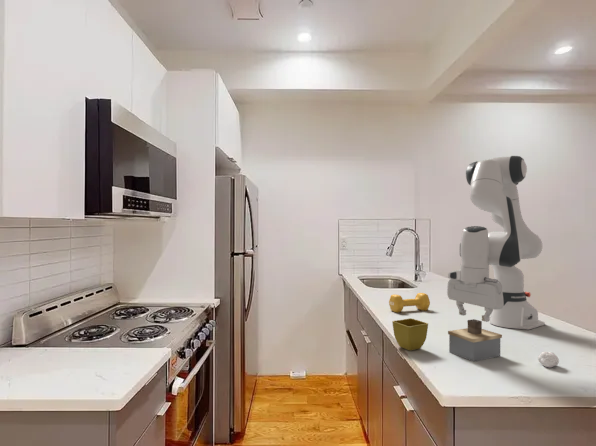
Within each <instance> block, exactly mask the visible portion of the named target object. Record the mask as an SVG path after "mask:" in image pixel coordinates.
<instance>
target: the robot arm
mask: <svg viewBox="0 0 596 446" xmlns="http://www.w3.org/2000/svg"><path fill="white" fill-rule="evenodd" d="M527 172H528V168H527V164H526V162H525V159H524V158H523V157H522V156H521V155H520V156H519V155H511V156H501V157H493V158H489V159H484V160H480V161H477V160H476V161H474V162H470V163H469V165H467V167H466V169H465V179H466V182H467V185H469V199H470V201H471V203H472V205H474V206H475V207H476V208H478V209H480V210H482V211H483V212H487V213H490V217H491V220H492V221H493V222H494V223H496V224H497V225H499V226H500V227H501V228H502V230H503V231H490V232H489V230H488V228H487V227H484V226H479V225H474V226H472V225H471V226H466V227H465V228H463V229H462V233H461V239H460V243H459V256H460V258H461V261H460V265H459V269H456V270H454V271H450V272H448V273H447V277H448V281H447V287H446V288H447V291H446V293H447V294H446V295H447V298H448V299H449V300H452V301H455V302H456V306H457V309H458V315H460V316H466V315H467V309H465V308H464V307H465V306H464V305H465V304H469V305H473V306H477V307H482V308H484V311H485V313H484V314H482V315H481V321H482V322H486V323H487V322H488V323H490V325H493V326H497V327H501V328H507V329H508V328H509V329H520V330H531V329H535V328H538V327H542V326H544V325H545V324H546V323H545V321H543V320H540V319H539V312H538V309H537V308H535V306H534V305H532V304H530V302H529V301H527V298H531V295H532V293H531V292H529V291H524V290H525V289H524V285H525V284H524V282H525V280H524V278H525V276H524V273H523V271H522V270H521V269H520V268H518V267H517V266H516V265H518V264H519V263H520V262H521V260H529V259H534V258H535V259H536V258H537V257H538V256H540V254H541V253H542V251H543V241H542V238H540V236H539V235H538V234H536V233H535V232H533V231H532V230H531V229H530V228H529V227H528V226H527V224H526V222H525V219H523V216H522V212H521V211H522V210H521V206H520V205H521V204H520V198H519V191H518V187H517V185H519V183H521V182H522V181H523V180H524V179H525V178H526V174H527ZM490 266H491V268H492V270H493V271H492V272H493V278H490Z"/></svg>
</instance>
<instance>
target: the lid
mask: <svg viewBox="0 0 596 446" xmlns="http://www.w3.org/2000/svg"><path fill="white" fill-rule="evenodd" d="M482 323H483V321H482V320H478V319H475V318H474V319H468V320H467V328H460V329H452V330H448V331H447V334H448V335H452V336H455V337H458V338H461V339H464V340H467V341H470V342H473V343H474V342H480V341H486V340H492V339H497V338H500V339H502V338H503V334H501V333H497V332H494V331H491V330H488V329H484V328H482V327H483V324H482Z"/></svg>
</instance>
